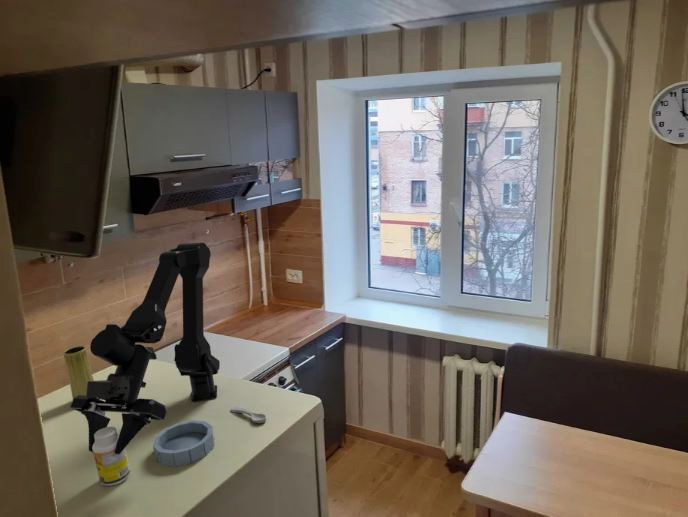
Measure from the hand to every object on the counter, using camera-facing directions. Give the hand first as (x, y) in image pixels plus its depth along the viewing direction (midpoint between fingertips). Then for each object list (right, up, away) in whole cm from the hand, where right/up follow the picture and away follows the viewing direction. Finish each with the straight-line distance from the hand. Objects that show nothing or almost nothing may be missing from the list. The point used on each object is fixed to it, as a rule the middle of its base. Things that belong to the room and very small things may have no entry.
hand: (103, 452), depth 100 cm
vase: (-22, 0, +38) cm, 44 cm away
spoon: (+24, 0, +22) cm, 32 cm away
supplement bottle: (+1, -6, +3) cm, 7 cm away
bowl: (+12, -3, +11) cm, 17 cm away
